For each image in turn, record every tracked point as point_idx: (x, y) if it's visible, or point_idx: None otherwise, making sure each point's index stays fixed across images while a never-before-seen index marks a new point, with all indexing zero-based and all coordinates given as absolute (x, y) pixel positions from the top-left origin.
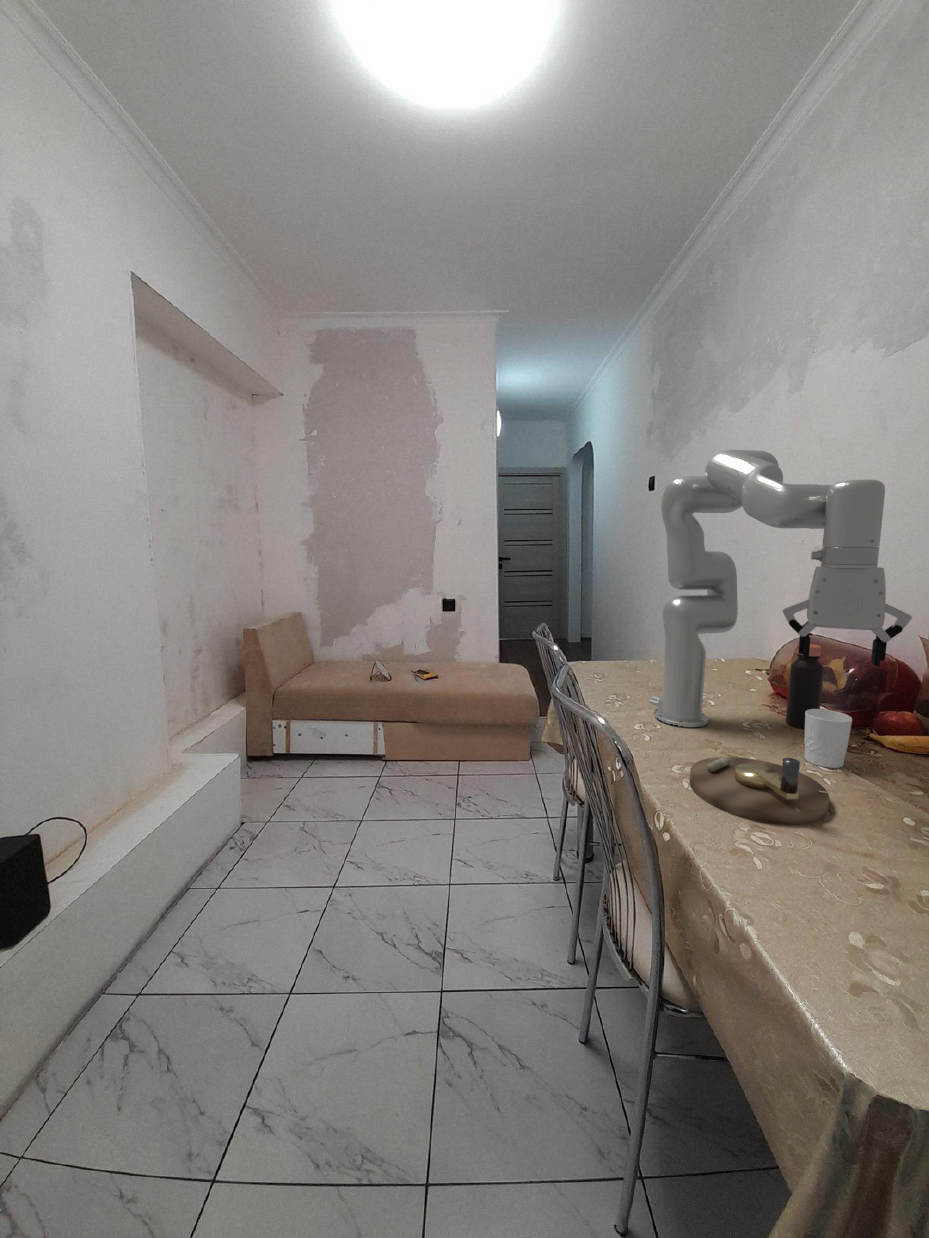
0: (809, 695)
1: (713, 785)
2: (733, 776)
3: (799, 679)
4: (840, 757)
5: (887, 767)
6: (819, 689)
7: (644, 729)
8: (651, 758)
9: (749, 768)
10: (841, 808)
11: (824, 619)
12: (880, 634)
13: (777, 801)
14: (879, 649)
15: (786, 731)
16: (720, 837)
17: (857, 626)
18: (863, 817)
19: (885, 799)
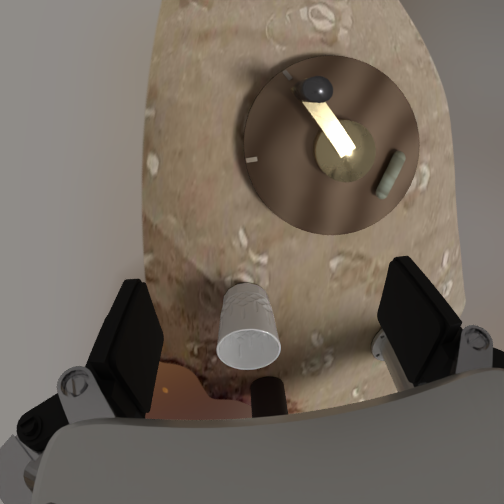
0: (266, 413)
1: (392, 108)
2: None
3: None
4: (227, 298)
5: (178, 317)
6: None
7: (443, 283)
8: (447, 195)
9: (356, 160)
10: (227, 153)
11: (480, 421)
12: (89, 403)
13: None
14: (108, 329)
15: (284, 363)
16: (363, 4)
17: (209, 439)
18: (201, 140)
19: (175, 217)
